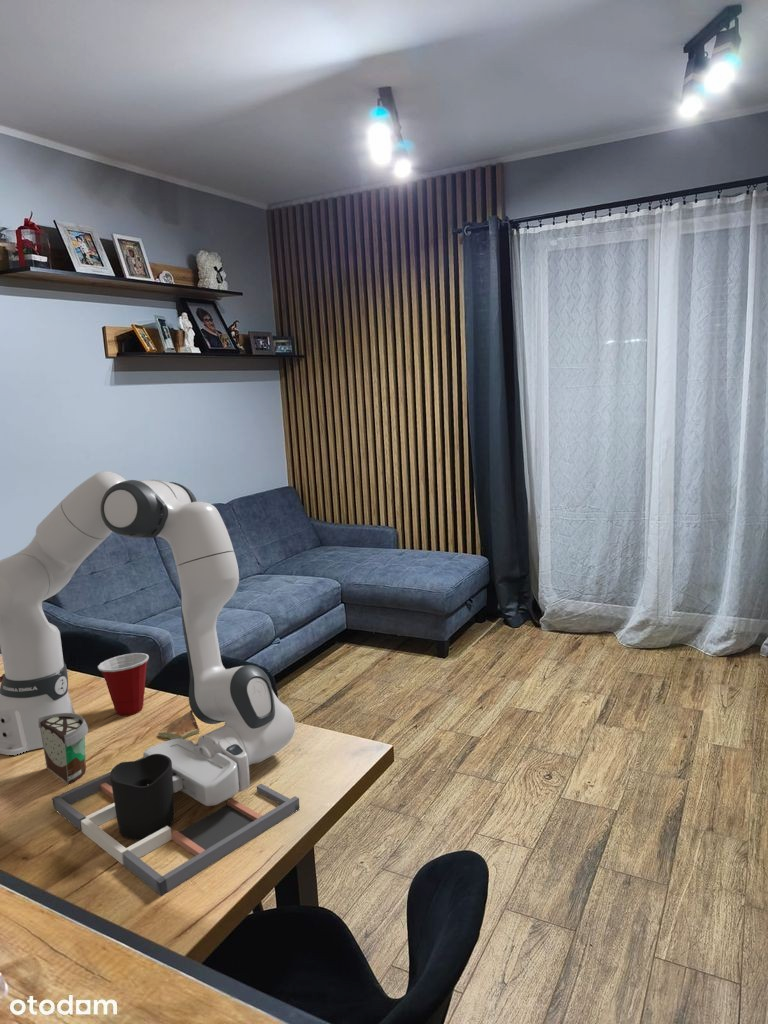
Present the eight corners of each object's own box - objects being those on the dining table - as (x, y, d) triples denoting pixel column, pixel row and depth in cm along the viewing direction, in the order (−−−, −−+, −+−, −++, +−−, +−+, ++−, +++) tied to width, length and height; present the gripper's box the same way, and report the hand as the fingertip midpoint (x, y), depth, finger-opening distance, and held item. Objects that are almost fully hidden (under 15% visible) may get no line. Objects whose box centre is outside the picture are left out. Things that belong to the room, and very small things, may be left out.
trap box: (184, 748, 139) (183, 738, 138) (299, 809, 116) (298, 798, 116) (53, 808, 119) (52, 798, 119) (161, 895, 97) (159, 883, 97)
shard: (191, 716, 154) (191, 708, 153) (219, 721, 151) (219, 713, 150) (157, 738, 144) (156, 730, 144) (186, 745, 141) (185, 736, 141)
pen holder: (137, 805, 119) (132, 751, 118) (187, 810, 117) (182, 755, 116) (104, 839, 110) (97, 781, 109) (157, 845, 108) (151, 786, 107)
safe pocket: (126, 807, 119) (125, 797, 118) (171, 839, 110) (170, 828, 109) (80, 830, 113) (79, 819, 112) (124, 866, 104) (123, 854, 103)
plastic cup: (130, 696, 164) (125, 648, 162) (164, 704, 159) (159, 654, 157) (92, 715, 155) (86, 664, 153) (126, 724, 150) (120, 672, 148)
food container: (104, 773, 130) (99, 723, 129) (72, 787, 126) (65, 736, 124) (75, 753, 138) (69, 705, 137) (43, 765, 134) (37, 717, 132)
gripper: (183, 723, 130) (113, 753, 120) (252, 756, 117) (181, 794, 107) (186, 754, 131) (117, 787, 121) (255, 791, 118) (184, 831, 108)
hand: (148, 790), depth 114 cm, fingers closed, pressing on pen holder
